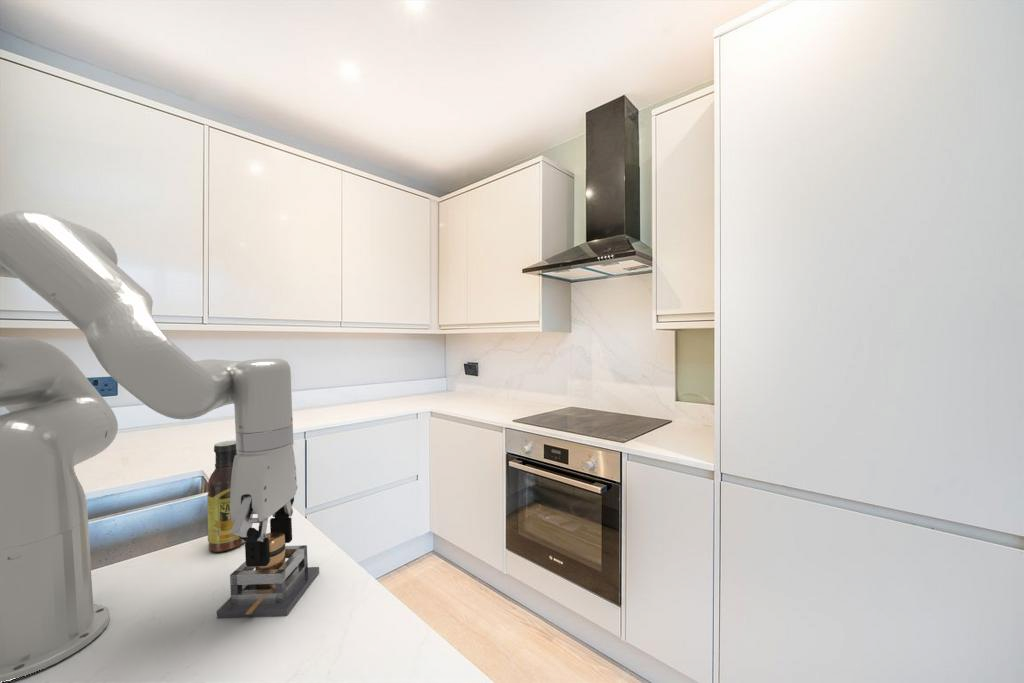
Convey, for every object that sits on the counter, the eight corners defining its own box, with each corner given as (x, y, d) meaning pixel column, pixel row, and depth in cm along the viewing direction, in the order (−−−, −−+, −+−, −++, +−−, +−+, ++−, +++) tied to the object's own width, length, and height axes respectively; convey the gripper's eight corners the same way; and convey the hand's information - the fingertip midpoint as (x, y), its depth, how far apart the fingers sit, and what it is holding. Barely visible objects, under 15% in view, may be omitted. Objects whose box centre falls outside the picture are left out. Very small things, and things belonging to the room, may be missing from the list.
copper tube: (249, 597, 59) (247, 546, 59) (267, 579, 64) (265, 531, 63) (276, 597, 59) (274, 546, 59) (292, 579, 63) (290, 531, 63)
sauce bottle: (222, 556, 72) (217, 450, 72) (200, 550, 74) (195, 447, 74) (256, 538, 78) (252, 440, 78) (235, 533, 81) (230, 437, 80)
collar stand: (212, 622, 56) (210, 584, 56) (259, 574, 67) (258, 542, 66) (283, 619, 56) (282, 582, 56) (319, 572, 67) (318, 541, 67)
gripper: (273, 425, 69) (277, 526, 70) (198, 457, 52) (204, 590, 53) (316, 424, 70) (320, 525, 70) (255, 456, 52) (260, 588, 53)
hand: (270, 552), depth 61 cm, fingers open, 5 cm apart
